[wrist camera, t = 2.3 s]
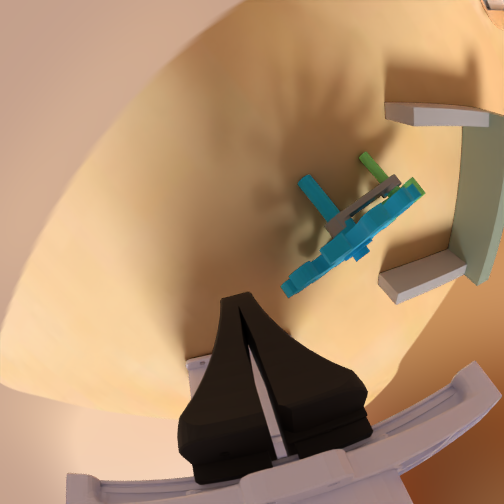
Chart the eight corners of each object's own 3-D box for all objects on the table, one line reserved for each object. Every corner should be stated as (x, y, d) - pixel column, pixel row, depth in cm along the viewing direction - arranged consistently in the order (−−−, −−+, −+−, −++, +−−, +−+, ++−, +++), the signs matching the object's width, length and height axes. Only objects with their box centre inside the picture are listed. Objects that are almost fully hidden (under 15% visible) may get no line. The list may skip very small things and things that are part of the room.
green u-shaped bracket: (377, 284, 25) (408, 320, 20) (384, 102, 16) (436, 112, 12) (457, 253, 26) (488, 279, 22) (474, 107, 18) (518, 119, 13)
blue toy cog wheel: (291, 308, 21) (302, 303, 11) (245, 243, 23) (221, 189, 13) (400, 226, 22) (464, 172, 12) (355, 170, 23) (391, 92, 13)
